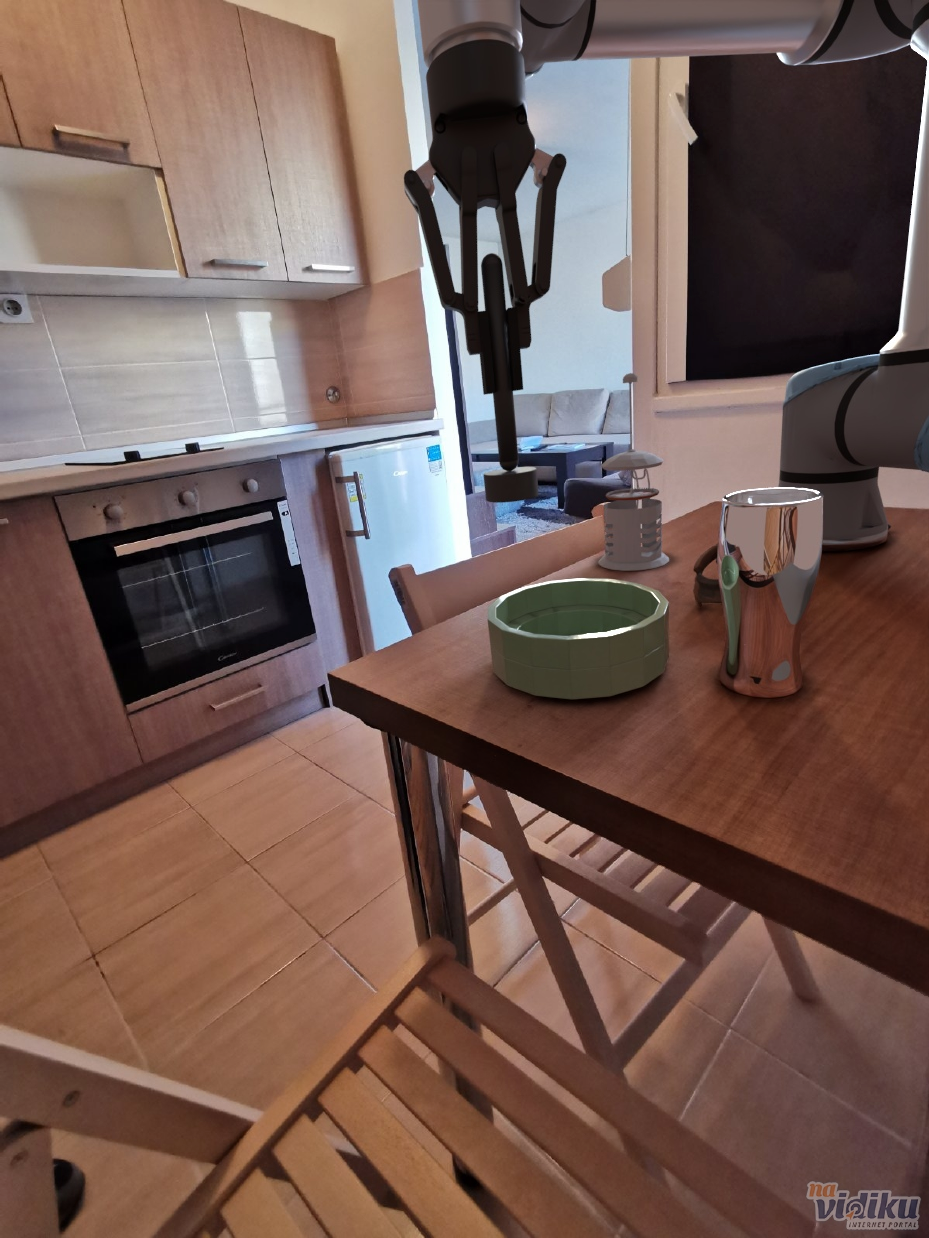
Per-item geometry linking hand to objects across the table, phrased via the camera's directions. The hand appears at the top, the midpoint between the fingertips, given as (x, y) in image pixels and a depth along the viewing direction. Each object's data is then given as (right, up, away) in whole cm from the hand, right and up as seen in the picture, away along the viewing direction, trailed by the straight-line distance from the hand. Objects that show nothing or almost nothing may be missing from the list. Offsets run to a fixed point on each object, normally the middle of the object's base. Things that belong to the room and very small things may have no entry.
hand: (502, 391), depth 53 cm
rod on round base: (+1, -9, +3) cm, 9 cm away
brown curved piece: (+27, -19, +12) cm, 35 cm away
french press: (+21, -12, +32) cm, 40 cm away
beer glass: (+21, -26, -5) cm, 33 cm away
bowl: (+7, -25, +2) cm, 26 cm away
